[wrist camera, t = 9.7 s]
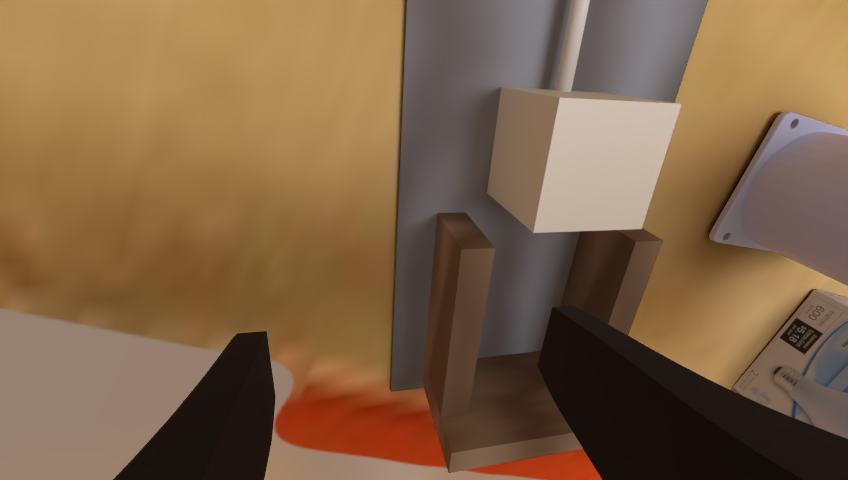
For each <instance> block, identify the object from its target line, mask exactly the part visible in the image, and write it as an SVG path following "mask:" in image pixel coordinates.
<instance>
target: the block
mask: <svg viewBox="0 0 848 480" xmlns="http://www.w3.org/2000/svg"><path fill="white" fill-rule="evenodd" d="M589 3H590V0H572V2H571V7H570V12H569V17H568V23H567V28H566V33H565V38H564V44H563V49H562V54H561V59H560V65H559V70H558V75H557V81H556V86H555V90H551V89H533V88H516V87H501V93H500V101H499V108H498V115H497V123H496V130H495V137H494V145H493V152H492V159H491V167H490V174H489V181H488V189H487V193H488V194H489V195H490V196H491V197H492V198H493V199H495V200H496V201H497V202H498V203H499V204H500V205H501V206H503V207H504V208H505V209H506V210H507V211H508V212H510V213H511V214H512V215H513V216H514V217H515V218H517V219H518V220H519V221H520V222H521V223H522V224H523V225H525V226H526V227H527V228H528V229H529V230H530V231H532V232H533V233H546V232H574V231H603V230H631V229H642V226H643V223H644V220H645V217H646V214H647V211H648V208H649V204H650V201H651V198H652V195H653V192H654V189H655V186H656V183H657V180H658V176H659V173H660V170H661V167H662V164H663V161H664V158H665V155H666V152H667V148H668V145H669V142H670V139H671V136H672V133H673V130H674V127H675V124H676V120H677V117H678V114H679V111H680V108H681V105H682V104H679V103H672V102H665V101H658V100H650V99H643V98H636V97H629V96H622V95H615V94H608V93H600V92H586V91H571V90H572V85H573V80H574V75H575V70H576V66H577V61H578V56H579V51H580V46H581V41H582V36H583V32H584V27H585V22H586V17H587V12H588V7H589Z"/></svg>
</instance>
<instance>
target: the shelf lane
mask: <svg viewBox="0 0 848 480" xmlns="http://www.w3.org/2000/svg"><path fill="white" fill-rule="evenodd" d="M571 2H572V0H406V21H405V46H404V70H403V95H402V120H401V144H400V169H399V193H398V218H397V242H396V267H395V292H394V316H393V341H392V365H391V392H392V391H400V390H408V389H416V388H424V389H425V392H426V396H427V399H428V403H429V406H430V410H431V413H432V417H433V420H434V424H435V427H436V430H437V434H438V437H439V441H440V444H441V448H442V451H443V455H444V458H445V462H446V465H447V469H448V472H449V473H451V472H456V471H462V470H468V469H474V468H479V467H485V466H490V465H496V464H502V463H507V462H513V461H518V460H524V459H530V458H535V457H541V456H546V455H552V454H557V453H563V452H569V451H574V450H580V449H583V448H582V446H581V444H580V443H579V441H578V440H577V438H576V436H575V435H574V433H573V432H572V430H571V428H570V427H569V425H568V424H567V422H566V420H565V419H564V417H563V415H562V414H561V412H560V411H559V409H558V407H557V406H556V404H555V402H554V401H553V398H552V396H551V394H550V392H549V390H548V388H547V386H546V384H545V381H544V379H543V377H542V375H541V372H540V370H539V368H538V362H539V358H540V354H541V350H542V346H543V342H544V338H545V334H546V330H547V326H548V323H549V319H550V315H551V311H552V307H561V306H575V307H577V308H579V309H581V310H583V311H585V312H587V313H589V314H590V315H592V316H594V317H596V318H598V319H600V320H601V321H603V322H605V323H607V324H608V325H610V326H612V327H614V328H615V329H617V330H619V331H621V332H622V333H624V334H626V335H627V336H628V334H629V331H630V328H631V325H632V323H633V320H634V317H635V315H636V312H637V309H638V307H639V304H640V301H641V299H642V296H643V293H644V290H645V288H646V285H647V282H648V280H649V277H650V274H651V272H652V269H653V266H654V264H655V261H656V258H657V255H658V253H659V250H660V247H661V245H662V242H663V240H661V239H659V238H658V237H656V236H654V235H653V234H651V233H649V232H647V231H646V230H644V229H631V230H603V231H574V232H546V233H533V232H532V231H530V230H529V229H528V228H527V227H526V226H525V225H523V224H522V223H521V222H520V221H519V220H518V219H517V218H515V217H514V216H513V215H512V214H511V213H510V212H508V211H507V210H506V209H505V208H504V207H503V206H501V205H500V204H499V203H498V202H497V201H496V200H495V199H493V198H492V197H491V196H490V195H489V194H488V193H487V189H488V181H489V174H490V167H491V159H492V152H493V145H494V137H495V130H496V123H497V115H498V108H499V101H500V93H501V87H516V88H533V89H551V90H555V86H556V81H557V75H558V70H559V65H560V59H561V54H562V49H563V44H564V38H565V33H566V28H567V23H568V17H569V12H570V7H571ZM707 2H708V0H590V3H589V7H588V12H587V17H586V22H585V27H584V32H583V36H582V41H581V46H580V51H579V56H578V61H577V66H576V70H575V75H574V80H573V85H572V90H571V91H586V92H600V93H608V94H615V95H622V96H629V97H636V98H643V99H650V100H658V101H665V102H672V103H675V100H676V96H677V93H678V90H679V87H680V84H681V81H682V78H683V75H684V72H685V69H686V66H687V63H688V60H689V57H690V54H691V51H692V48H693V45H694V42H695V39H696V36H697V33H698V30H699V27H700V24H701V21H702V17H703V14H704V11H705V8H706V5H707Z"/></svg>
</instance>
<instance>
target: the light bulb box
mask: <svg viewBox="0 0 848 480" xmlns="http://www.w3.org/2000/svg"><path fill="white" fill-rule="evenodd" d="M733 388H734V389H735V390H737V391H738V392H739V393H740V394H741V395H742V396H744V397H746V398H749V399H751V400H753V401H755V402H757V403H760V404H762V405H764V406H766V407H769V408H771V409H773V410H776V411H778V412H780V413H783V414H785V415H788V416H790V417H793V418H795V419H798V420H800V421H803V422H805V423H808V424H810V425H813V426H815V427H818V428H820V429H823V430H826V431H828V432H831V433H833V434H836V435H839V436H841V437H844V438H847V439H848V298H846V297H842V296H839V295H835V294H831V293H828V292H824V291H820V290H813V291H812V293H811V294H810V295H809V296H808V298H807V299H806V300H805V301H804V302H803V304H802V305H801V306H800V307H799V308H798V310H797V311H796V312H795V313H794V314H793V316H792V317H791V318H790V319H789V320H788V322H787V323H786V324H785V325H784V326H783V328H782V329H781V330H780V331H779V332H778V333H777V335H776V336H775V337H774V338H773V339H772V341H771V342H770V343H769V344H768V345H767V347H766V348H765V349H764V350H763V351H762V353H761V354H760V355H759V356H758V358H757V359H756V360H755V361H754V362H753V363H752V365H751V366H750V367H749V368H748V369H747V371H746V372H745V373H744V374H743V375H742V376H741V378H740V379H739V380H738V381H737V382H736V384H735V385H734V386H733Z"/></svg>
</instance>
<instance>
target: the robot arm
mask: <svg viewBox="0 0 848 480" xmlns="http://www.w3.org/2000/svg"><path fill="white" fill-rule="evenodd" d="M709 238H710V240H712V241H714V242H717V243H723V244H729V245H735V246H741V247H747V248H754V249H760V250H766V251H772V252H776V253H778V254H781V255H783V256H785V257H787V258H789V259H791V260H794V261H796V262H798V263H800V264H802V265H804V266H807V267H809V268H811V269H813V270H815V271H817V272H820V273H822V274H824V275H826V276H828V277H830V278H833V279H835V280H837V281H839V282H841V283H843V284H845V285H848V130H845V129H842V128H839V127H836V126H833V125H830V124H827V123H824V122H821V121H818V120H815V119H812V118H809V117H806V116H802V115H799V114H796V113H793V112H782V113H781V114H780V115H778V116H777V118H776V119H775V121H774V123H773V124H772V126H771V128H770V130H769V131H768V133H767V135H766V136H765V138H764V140H763V142H762V143H761V145H760V147H759V149H758V150H757V152H756V154H755V155H754V157H753V159H752V161H751V162H750V164H749V166H748V168H747V169H746V171H745V173H744V174H743V176H742V178H741V180H740V181H739V183H738V185H737V187H736V188H735V190H734V192H733V194H732V195H731V197H730V199H729V200H728V202H727V204H726V206H725V207H724V209H723V211H722V213H721V214H720V216H719V218H718V219H717V221H716V223H715V225H714V226H713V228H712V230H711V232H710V234H709ZM538 368H539V370H540V372H541V375H542V377H543V379H544V381H545V384H546V386H547V388H548V390H549V392H550V394H551V396H552V398H553V401H554V402H555V404H556V406H557V407H558V409H559V411H560V412H561V414H562V415H563V417H564V419H565V420H566V422H567V424H568V425H569V427H570V428H571V430H572V432H573V433H574V435H575V436H576V438H577V440H578V441H579V443H580V444H581V446H582V448H583V449H584V451H585V452H586V454H587V456H588V457H589V459H590V460H591V462H592V464H593V465H594V467H595V468H596V470H597V471H598V473H599V475H600V476H601V478H602V479H603V480H848V439H847V438H844V437H841V436H839V435H836V434H833V433H831V432H828V431H826V430H823V429H820V428H818V427H815V426H813V425H810V424H808V423H805V422H803V421H800V420H798V419H795V418H793V417H790V416H788V415H785V414H783V413H780V412H778V411H776V410H773V409H771V408H769V407H766V406H764V405H762V404H760V403H757V402H755V401H753V400H751V399H749V398H746V397H744V396H742V395H740V394H738V393H735V392H733V391H731V390H729V389H727V388H725V387H723V386H720V385H718V384H716V383H714V382H712V381H710V380H708V379H706V378H704V377H702V376H701V375H699V374H697V373H695V372H693V371H691V370H689V369H687V368H685V367H683V366H681V365H679V364H677V363H676V362H674V361H672V360H670V359H668V358H666V357H665V356H663V355H661V354H659V353H657V352H656V351H654V350H652V349H650V348H648V347H647V346H645V345H643V344H641V343H640V342H638V341H636V340H634V339H633V338H631V337H629V336H627V335H626V334H624V333H622V332H621V331H619V330H617V329H615V328H614V327H612V326H610V325H608V324H607V323H605V322H603V321H601V320H600V319H598V318H596V317H594V316H592V315H590V314H589V313H587V312H585V311H583V310H581V309H579V308H577V307H575V306H561V307H552V311H551V315H550V319H549V323H548V326H547V330H546V334H545V338H544V342H543V346H542V350H541V354H540V358H539V362H538ZM274 407H275V391H274V383H273V376H272V369H271V361H270V354H269V347H268V339H267V332H266V331H264V332H252V333H240V334H237V335H236V336H235V337H233V339H232V340H231V341H230V343H229V344H228V345H227V347H226V348H225V349H224V351H223V352H222V353H221V355H220V356H219V357H218V359H217V360H216V361H215V363H214V364H213V365H212V367H211V368H210V369H209V371H208V372H207V373H206V374H205V376H204V377H203V378H202V380H201V381H200V382H199V383H198V385H197V386H196V387H195V388H194V389H193V391H192V392H191V393H190V394H189V396H188V397H187V398H186V399H185V400H184V402H183V403H182V404H181V405H180V407H179V408H178V409H177V410H176V411H175V413H174V414H173V415H172V416H171V417H170V418H169V420H168V421H167V422H166V423H165V424H164V425H163V426H162V427H161V429H160V430H159V431H158V432H157V433H156V434H155V435H154V436H153V438H151V440H150V441H149V442H148V443H147V444H146V445H145V446H144V447H143V448H142V450H141V451H140V452H139V453H138V454H137V455H136V456H135V457H134V458H133V460H131V462H130V463H129V464H128V465H127V466H126V467H125V468H124V469H123V470H122V471H121V472H120V473H119V474H118V475H117V476H116V477H115V478H114V479H113V480H264V477H265V472H266V467H267V462H268V457H269V451H270V445H271V441H272V430H273V420H274Z"/></svg>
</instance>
